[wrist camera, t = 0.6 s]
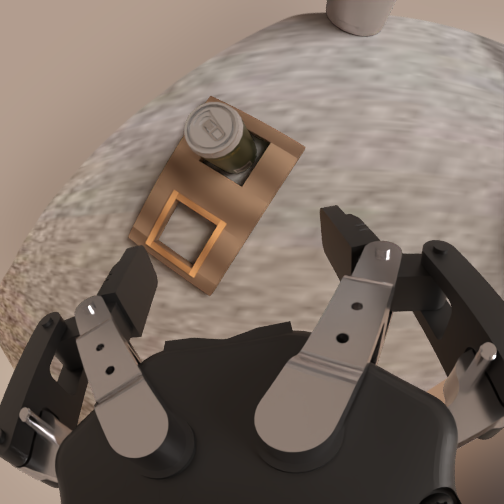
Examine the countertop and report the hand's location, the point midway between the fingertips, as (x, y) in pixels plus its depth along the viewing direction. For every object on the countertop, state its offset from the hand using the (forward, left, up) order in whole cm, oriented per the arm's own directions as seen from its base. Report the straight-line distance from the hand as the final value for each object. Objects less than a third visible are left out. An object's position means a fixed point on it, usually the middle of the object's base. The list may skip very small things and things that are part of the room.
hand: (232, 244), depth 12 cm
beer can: (-5, -8, -23) cm, 25 cm away
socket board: (+1, -8, -23) cm, 24 cm away
